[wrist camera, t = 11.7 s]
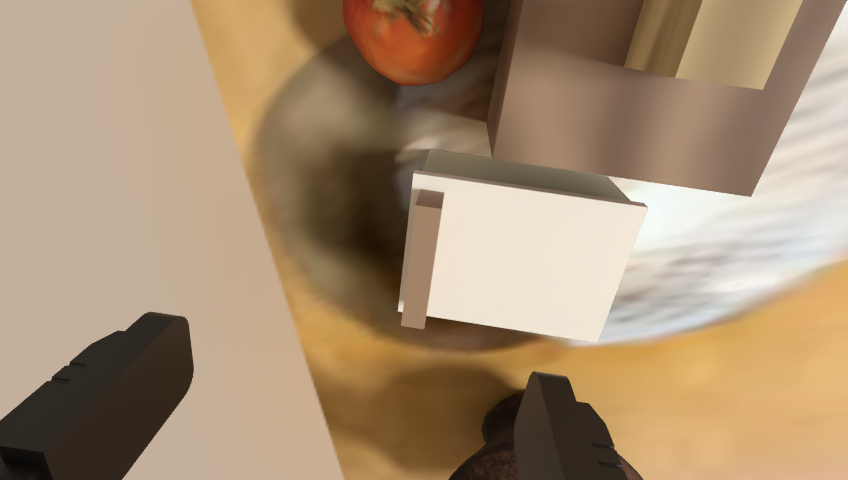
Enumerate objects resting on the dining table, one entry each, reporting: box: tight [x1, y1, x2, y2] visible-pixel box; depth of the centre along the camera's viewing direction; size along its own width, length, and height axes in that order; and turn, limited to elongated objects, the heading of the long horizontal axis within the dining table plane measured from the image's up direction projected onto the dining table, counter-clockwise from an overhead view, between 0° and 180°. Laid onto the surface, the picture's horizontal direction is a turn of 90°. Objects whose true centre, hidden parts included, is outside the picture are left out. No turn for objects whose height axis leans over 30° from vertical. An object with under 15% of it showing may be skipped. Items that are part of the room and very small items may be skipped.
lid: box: [398, 170, 648, 343], centre depth 29 cm, size 15×11×4 cm
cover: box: [486, 0, 847, 197], centre depth 23 cm, size 14×14×17 cm
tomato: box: [343, 0, 484, 86], centre depth 28 cm, size 9×9×8 cm
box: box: [422, 149, 630, 201], centre depth 34 cm, size 14×10×7 cm
